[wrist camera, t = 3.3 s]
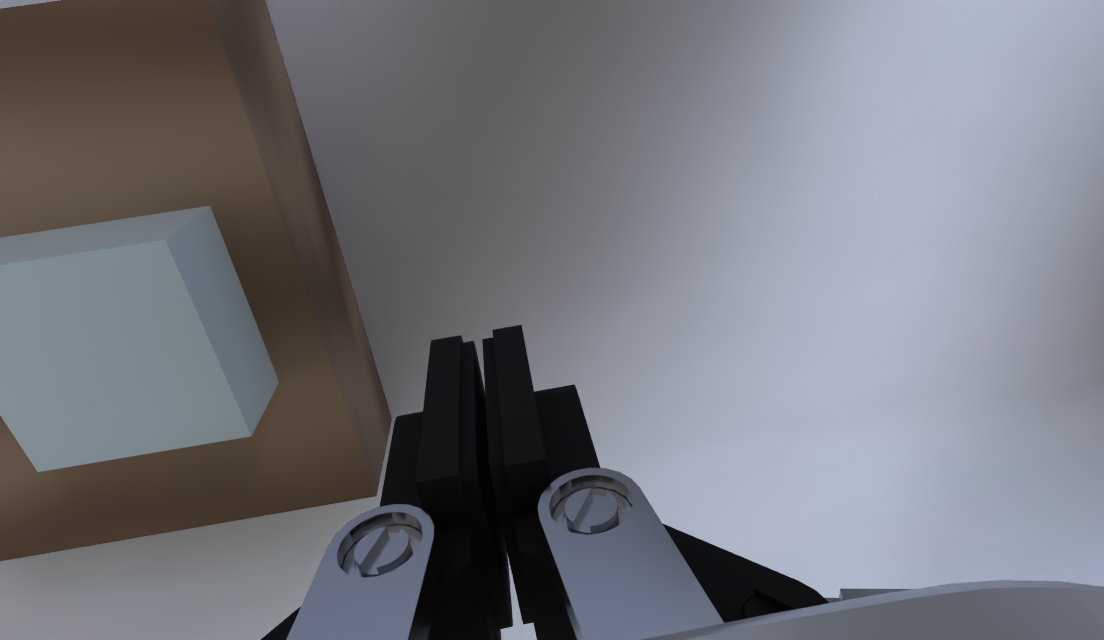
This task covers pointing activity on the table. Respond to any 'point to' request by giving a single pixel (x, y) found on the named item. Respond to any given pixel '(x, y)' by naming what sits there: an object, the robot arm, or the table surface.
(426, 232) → the table surface
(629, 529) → the robot arm
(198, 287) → the tile
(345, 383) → the board
